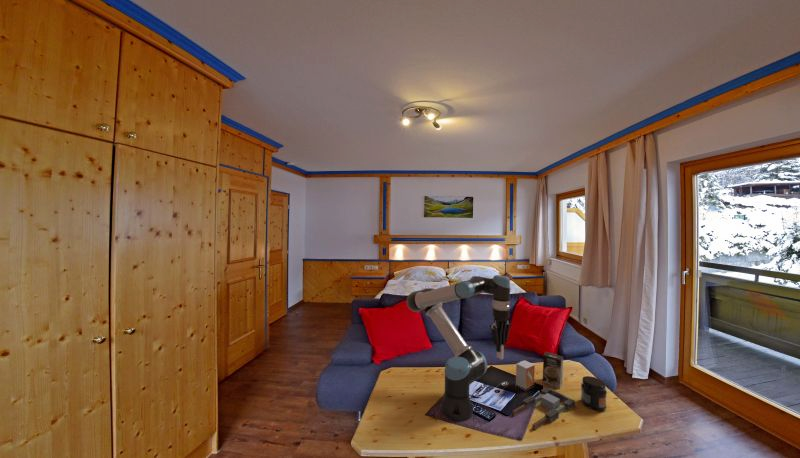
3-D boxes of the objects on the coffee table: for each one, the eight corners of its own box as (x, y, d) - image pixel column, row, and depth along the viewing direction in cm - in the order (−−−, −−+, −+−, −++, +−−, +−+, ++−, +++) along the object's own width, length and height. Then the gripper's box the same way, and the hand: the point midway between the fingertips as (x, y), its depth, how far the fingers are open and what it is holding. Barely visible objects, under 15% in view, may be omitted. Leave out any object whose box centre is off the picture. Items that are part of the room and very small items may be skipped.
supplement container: (611, 409, 135) (612, 385, 135) (595, 413, 132) (596, 388, 132) (590, 396, 145) (591, 374, 145) (575, 400, 142) (576, 377, 142)
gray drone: (509, 413, 131) (509, 407, 131) (547, 392, 149) (547, 386, 148) (537, 432, 120) (537, 425, 119) (574, 406, 137) (574, 400, 137)
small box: (525, 392, 148) (526, 368, 148) (515, 386, 153) (515, 363, 153) (534, 387, 152) (535, 364, 152) (523, 382, 158) (524, 359, 158)
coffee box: (542, 382, 158) (542, 354, 157) (545, 378, 162) (545, 351, 162) (560, 389, 152) (561, 360, 151) (562, 384, 156) (563, 356, 156)
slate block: (540, 405, 138) (541, 396, 137) (547, 401, 141) (547, 392, 141) (553, 412, 133) (553, 403, 132) (559, 408, 136) (559, 399, 136)
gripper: (498, 312, 124) (497, 364, 125) (516, 308, 131) (515, 357, 132) (485, 308, 131) (484, 358, 131) (503, 304, 138) (502, 351, 138)
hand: (500, 357), depth 131 cm, fingers closed
